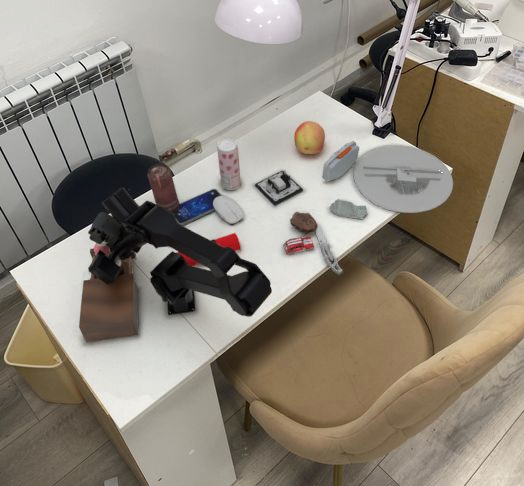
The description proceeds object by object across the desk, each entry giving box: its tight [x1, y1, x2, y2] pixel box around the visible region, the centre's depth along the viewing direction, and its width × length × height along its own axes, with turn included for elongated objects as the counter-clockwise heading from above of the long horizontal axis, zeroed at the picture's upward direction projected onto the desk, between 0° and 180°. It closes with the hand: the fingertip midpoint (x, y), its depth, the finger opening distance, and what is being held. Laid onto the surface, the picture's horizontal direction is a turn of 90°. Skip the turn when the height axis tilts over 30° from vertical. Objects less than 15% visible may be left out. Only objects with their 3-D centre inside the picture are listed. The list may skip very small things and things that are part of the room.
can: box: [147, 163, 180, 213], centre depth 149 cm, size 6×6×14 cm
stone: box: [289, 211, 318, 235], centre depth 147 cm, size 7×7×3 cm
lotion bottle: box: [93, 242, 123, 274], centre depth 132 cm, size 5×5×12 cm
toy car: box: [282, 236, 315, 256], centre depth 142 cm, size 4×8×3 cm, turn 105°
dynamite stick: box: [175, 232, 242, 267], centre depth 140 cm, size 5×5×20 cm
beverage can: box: [216, 138, 242, 191], centre depth 155 cm, size 6×6×15 cm
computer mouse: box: [213, 195, 245, 225], centre depth 151 cm, size 6×10×3 cm, turn 39°
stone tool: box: [329, 198, 368, 220], centre depth 151 cm, size 10×2×5 cm
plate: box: [353, 145, 454, 214], centre depth 160 cm, size 28×28×1 cm
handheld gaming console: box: [321, 140, 360, 182], centre depth 160 cm, size 14×3×8 cm, turn 136°
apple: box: [293, 120, 326, 155], centre depth 167 cm, size 10×10×10 cm
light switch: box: [254, 170, 304, 206], centre depth 157 cm, size 10×4×10 cm
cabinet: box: [78, 273, 140, 343], centre depth 128 cm, size 13×12×7 cm
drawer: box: [89, 247, 137, 279], centre depth 136 cm, size 13×10×5 cm
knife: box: [315, 223, 344, 276], centre depth 142 cm, size 2×18×3 cm
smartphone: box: [172, 188, 223, 226], centre depth 154 cm, size 7×1×15 cm
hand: (102, 255), depth 133 cm, fingers closed on lotion bottle, 5 cm apart
